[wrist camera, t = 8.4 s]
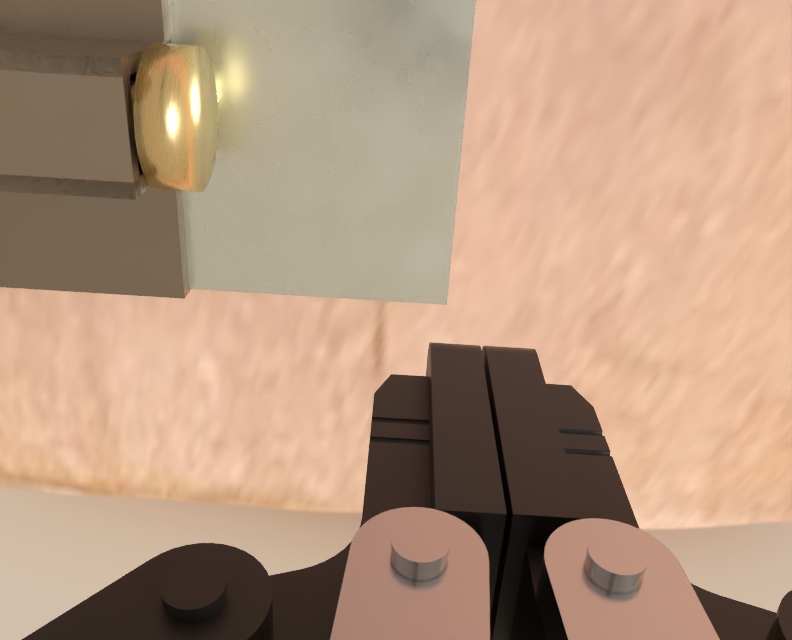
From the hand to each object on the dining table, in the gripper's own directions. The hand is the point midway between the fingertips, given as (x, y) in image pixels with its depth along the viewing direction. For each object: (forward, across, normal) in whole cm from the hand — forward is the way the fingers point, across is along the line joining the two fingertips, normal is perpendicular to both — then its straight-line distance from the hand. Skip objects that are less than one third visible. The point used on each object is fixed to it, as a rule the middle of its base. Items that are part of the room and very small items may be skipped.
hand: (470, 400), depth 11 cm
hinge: (+22, +11, 0) cm, 25 cm away
